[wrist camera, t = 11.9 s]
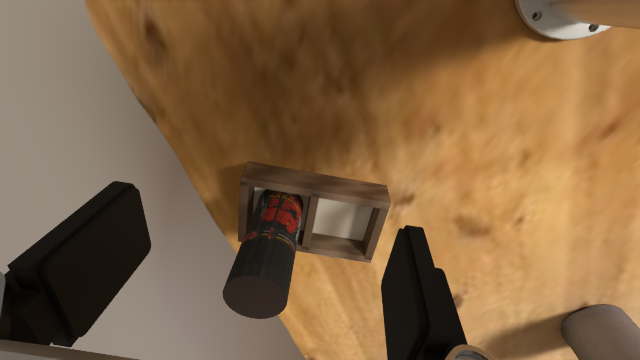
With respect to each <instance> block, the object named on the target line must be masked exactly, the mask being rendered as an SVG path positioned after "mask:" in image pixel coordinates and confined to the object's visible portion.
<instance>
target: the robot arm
mask: <svg viewBox="0 0 640 360" xmlns="http://www.w3.org/2000/svg"><path fill="white" fill-rule="evenodd" d="M514 1H515V5H516V8H517V11H518V13H519V15H520V16H521V18H522V20H523V21H524V22H525V23H526V24H527V26H528V27H529V28H530V29H532V30H533V31H535V32H537V33H538V34H540V35H543V36H546V37H549V38H554V39H560V40H576V39H581V38H585V37H590V36H592V35H595V34H598V33H600V32H603V31H605V30H607V29H609V28H610V27H612V26H613V27H622V28H632V29H640V0H514ZM533 14H535V15H534V17H533V18H532V15H533ZM150 249H151V241H150V237H149V232H148V228H147V224H146V219H145V215H144V210H143V206H142V201H141V197H140V192H139V190H138V189H137V188H135V186H134V185H133V184H131V183H125V182H118V181H114V182H112V183H111V184H109V185H108V186H107V187H106V188H104V189H103V190H102V191H101V192H99V193H98V194H97V195H96V196H94V197H93V198H92V199H90V200H89V201H88V202H87V203H85V204H84V205H83V206H82V207H80V208H79V209H78V210H77V211H75V212H74V213H73V214H72V215H70V216H69V217H68V218H67V219H65V220H64V221H63V222H62V223H60V224H59V225H58V226H57V227H55V228H54V229H53V230H51V231H50V232H49V233H48V234H46V235H45V236H44V237H43V238H41V239H40V240H39V241H38V242H36V243H35V244H34V245H33V246H31V247H30V248H29V249H27V250H26V251H25V252H24V253H23V254H21V255H20V256H19V257H17V258H16V259H15V260H14V261H12V262H11V263H10V264H9V265H8V267H9V269H10V270H9V271H8V272H7V273H6V274H5V275H3V274H2V273H1V272H0V360H138V359H132V358H125V357H119V356H112V355H106V354H99V353H93V352H87V351H80V350H74V349H67V348H60V347H54V346H49V345H50V344H51V343H53V345H59V346H65V347H71V346H72V345H73V344H74V343H75V341H76V340H77V339H78V338H79V337H82V336H83V335H85V334H86V333H87V332H88V330H89V329H90V328H91V326H92V325H93V324H94V323H95V321H96V320H97V319H98V317H99V316H100V315H101V314H102V312H103V311H104V310H105V309H106V307H107V306H108V305H109V303H110V302H111V301H112V300H113V298H114V297H115V296H116V295H117V293H118V292H119V291H120V289H121V288H122V287H123V285H124V284H125V283H126V282H127V280H128V279H129V278H130V277H131V275H132V274H133V273H134V271H135V270H136V269H137V267H138V266H139V265H140V264H141V262H142V261H143V260H144V259H145V257H146V256H147V255H148V253H149V251H150ZM381 293H382V304H383V314H384V325H385V336H386V347H387V357H388V360H494V359H493V358H492V357H491V356H490V355H489V354H488V353H486V352H485V351H483V350H481V349H480V348H477V347H474V346H472V345H468V344H467V341H466V338H465V335H464V332H463V329H462V325H461V322H460V319H459V316H458V313H457V310H456V307H455V304H454V301H453V298H452V294H451V291H450V288H449V285H448V282H447V279H446V276H445V273H444V271H443V270H442V269H440V268H435V267H434V263H433V260H432V256H431V253H430V250H429V246H428V243H427V239H426V236H425V233H424V230H423V228H422V227H415V226H409V225H406V226H405V227H404V229H401V228H400V229H399V230H398V233H397V236H396V239H395V242H394V245H393V248H392V251H391V254H390V257H389V260H388V263H387V266H386V269H385V272H384V275H383V279H382V283H381Z"/></svg>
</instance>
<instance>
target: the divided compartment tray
mask: <svg viewBox="0 0 640 360" xmlns="http://www.w3.org/2000/svg"><path fill="white" fill-rule="evenodd" d="M266 189H269V190H275V191H281V192H286V193H292V194H298V195H300V196H301V198H302V200H303V212H302V218H301V224H300V230H299V235H298V241H297V247H296V251H300V252H306V253H312V254H319V255H323V256H329V257H335V258H341V259H347V260H355V261H361V262H367V263H371V260H372V257H373V254H374V251H375V248H376V245H377V242H378V239H379V236H380V234H381V231H382V228H383V225H384V222H385V219H386V216H387V213H388V210H389V207H390V204H391V201H390V197H389V193H388V189H387V186H386V185H380V184H374V183H369V182H363V181H357V180H351V179H346V178H340V177H334V176H328V175H322V174H317V173H311V172H305V171H299V170H293V169H288V168H282V167H276V166H270V165H264V164H259V163H253V162H249V163H248V165H247V167H246V168H245V170H244V172H243V174H242V176H241V177H240V202H239V228H238V241H239V242H242V241H243V239H244V236H245V234H246V231H247V228H248V226H249V223H250V221H251V218H252V216H253V213H254V211H255V208H256V206H257V203H258V201H259V198H260V196H261V194H262V193H263V191H264V190H266Z"/></svg>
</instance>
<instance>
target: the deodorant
mask: <svg viewBox="0 0 640 360" xmlns="http://www.w3.org/2000/svg"><path fill="white" fill-rule="evenodd" d="M302 212H303V200H302V198H301V196H300V195H298V194H292V193H286V192H281V191H275V190H269V189H266V190H264V191H263V193H262V194H261V196H260V198H259V201H258V203H257V206H256V208H255V211H254V213H253V216H252V218H251V221H250V223H249V226H248V228H247V231H246V234H245V236H244V239H243V241H242V244H241V246H240V249H239V251H238V254H237V256H236V259H235V262H234V264H233V266H232V269H231V271H230V274H229V277H228V279H227V281H226V284H225V287H224V290H223V298H224V300H225V302H226V304H227V305H228V306H229V307H230V308H231V309H232V310H233V311H235V312H236V313H238V314H241V315H243V316H246V317H249V318H256V319H266V318H270V317H274V316H276V315H278V314H280V313H281V312H282V311H283V310H284V309H285V307H286V305H287V299H288V294H289V288H290V282H291V276H292V270H293V265H294V259H295V253H296V247H297V241H298V235H299V230H300V224H301V218H302Z"/></svg>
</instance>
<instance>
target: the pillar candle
mask: <svg viewBox="0 0 640 360" xmlns="http://www.w3.org/2000/svg"><path fill="white" fill-rule="evenodd" d="M561 332H562V334H563V337H564V339H565V340H566V341H567V343H568V344H569V346H570V347H571V349H572V350H573V351H574V353H575V354H576V356H577V357H578V359H579V360H640V328H639V327H638V326H637V325H636V324H635V323H634V322H633V321H632V319H631V318H630V317H629V316H628V315H627V314H626V313H625V312H624V311H623V310H622V309H620V308H619V307H616V306H613V305H607V304H602V305H593V306H589V307H587V308H585V309H583V310H580V311H578V312H575V313H573V314H571V315H569V316H568V317H567V318H566V319H565V320H564V322H563V323H562V325H561Z"/></svg>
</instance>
